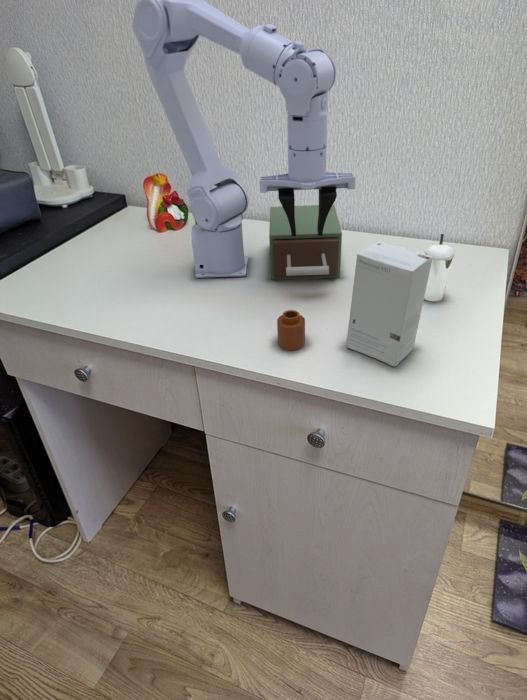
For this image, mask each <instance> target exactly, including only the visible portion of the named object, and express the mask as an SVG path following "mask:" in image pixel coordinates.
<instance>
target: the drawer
mask: <svg viewBox="0 0 527 700" xmlns="http://www.w3.org/2000/svg"><path fill="white" fill-rule="evenodd" d="M338 252H339V239H338V238H334V237H329V238H300V239H277V240H273V262H274V278H293V277H326V276H337V274H338Z"/></svg>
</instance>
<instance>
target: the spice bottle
mask: <svg viewBox="0 0 527 700" xmlns="http://www.w3.org/2000/svg"><path fill="white" fill-rule="evenodd" d="M276 331H277V345H278V347H279V348H280V349H281V350H284V351H287V352H288V351H289V352H292V351H293V352H294V351H298V350H300V349H302V348H304V347H305V344H306V319H305V317H304V316H303V315H302V314H300V312H299V311H297V310H293V309H288V310H285V311H283V312H282V315H279V317H278V318H277V319H276Z"/></svg>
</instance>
